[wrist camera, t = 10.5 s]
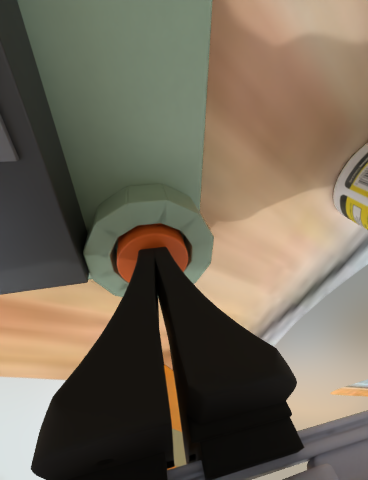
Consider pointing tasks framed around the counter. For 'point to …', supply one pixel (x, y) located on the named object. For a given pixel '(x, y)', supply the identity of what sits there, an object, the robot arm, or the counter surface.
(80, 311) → the counter surface
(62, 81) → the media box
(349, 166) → the pill bottle
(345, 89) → the counter surface
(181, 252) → the power button
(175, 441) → the orange juice
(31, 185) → the remote
